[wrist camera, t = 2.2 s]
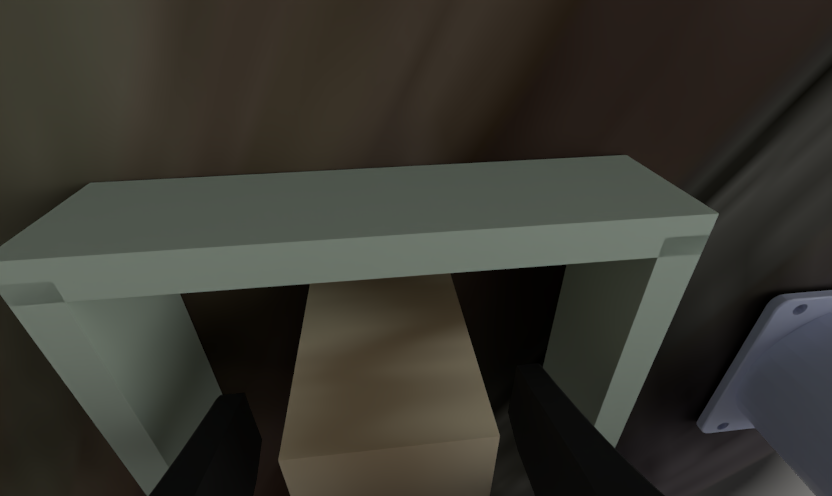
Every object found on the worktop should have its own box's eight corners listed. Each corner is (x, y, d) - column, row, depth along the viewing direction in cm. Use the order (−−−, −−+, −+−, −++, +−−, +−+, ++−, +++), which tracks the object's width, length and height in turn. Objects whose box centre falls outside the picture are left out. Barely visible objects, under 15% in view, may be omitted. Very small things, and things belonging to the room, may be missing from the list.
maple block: (444, 255, 12) (500, 436, 7) (441, 366, 15) (479, 552, 10) (313, 265, 12) (277, 461, 7) (333, 376, 15) (318, 574, 10)
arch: (626, 155, 11) (719, 213, 8) (562, 381, 16) (606, 467, 13) (89, 182, 10) (-24, 262, 7) (203, 417, 15) (165, 520, 12)
